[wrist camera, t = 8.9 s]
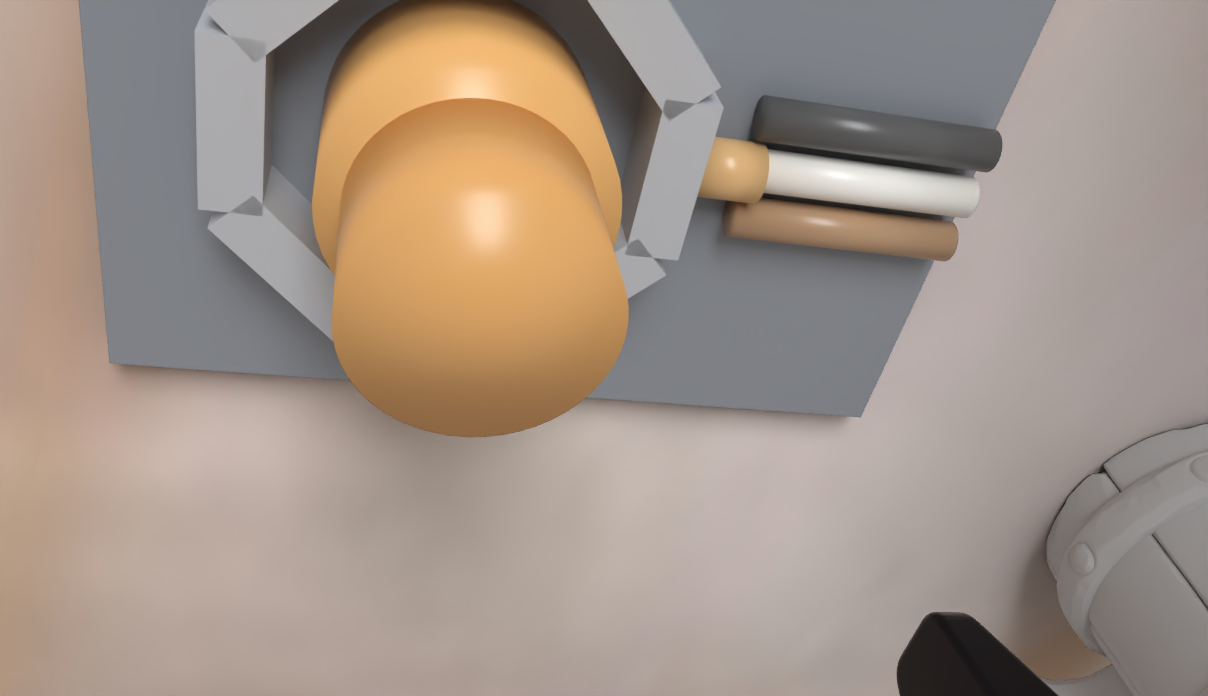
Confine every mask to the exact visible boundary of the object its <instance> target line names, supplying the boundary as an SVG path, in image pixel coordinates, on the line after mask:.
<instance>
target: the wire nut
mask: <svg viewBox="0 0 1208 696" xmlns="http://www.w3.org/2000/svg"><path fill="white" fill-rule="evenodd" d="M312 215H313V224H314V229H315V234H316V238H317V241H318V244H319V247H320V250H321V252H322V255H323V257H324V259H325V260H326V262H327V264H328V266H329V268H330V270H331V271H332V273H333V274H334V275H335V282H334V295H333V308H332V336H333V341H334V346H335V350H336V353H337V356H338V358H339V361H340V364H341V366H342V367H343V369H344V371H345V373H346V374H347V376H348V378H349V379H350V381H351V382H352V383H353V384H354V386H355V387H356V388H357V389H358V391H359V392H360V393H361V394H362V395H363V396H364V397H365V398H367V399H368V400H369V401H370V402H371V403H372V404H373V405H375V406H376V407H378V408H379V409H380V410H382V411H383V412H384V413H386V414H388V415H390V416H392V417H393V418H395V419H397V420H399V421H401V422H403V423H406V424H408V425H411V426H413V427H416V428H419V429H422V430H426V431H429V432H433V433H438V434H444V435H449V436H461V437H487V436H497V435H504V434H509V433H514V432H519V431H522V430H525V429H529V428H532V427H535V426H538V425H540V424H543V423H545V422H547V421H550V420H552V419H554V418H556V417H558V416H560V415H561V414H563V413H565V412H567V411H568V410H570V409H571V408H573V407H574V406H576V405H577V404H579V403H580V402H581V401H583V400H584V399H585V398H586V397H587V396H588V395H589V394H591V393H592V392H593V391H594V390H595V389H596V388H597V387H598V385H599V384H600V383H601V382H602V381H603V380H604V379H605V377H606V376H607V374H608V373H609V372H610V370H611V369H612V367H613V366H614V364H615V362H616V360H617V358H618V356H619V354H620V352H621V349H622V346H623V344H624V341H625V338H626V332H627V327H628V315H629V306H628V299H627V292H626V289H625V285H624V282H623V279H622V275H621V272H620V269H619V266H618V262H617V259H616V256H615V253H614V249H613V247H614V245H615V241H616V238H617V235H618V232H619V228H620V221H621V215H622V191H621V184H620V178H619V174H618V171H617V167H616V164H615V161H614V158H613V155H612V152H611V149H610V146H609V143H608V141H607V138H606V135H605V132H604V129H603V126H602V123H601V121H600V118H599V115H598V112H597V109H596V106H595V103H594V101H593V98H592V95H591V92H590V89H589V86H588V83H587V81H586V78H585V75H584V72H583V70H582V68H581V66H580V64H579V61H578V59H577V57H576V56H575V54H574V53H573V51H572V49H571V48H570V46H569V45H568V43H567V42H566V41H565V40H564V39H563V38H562V36H561V35H560V34H559V33H558V32H557V31H556V30H555V29H554V28H553V27H552V26H551V25H550V24H549V23H548V22H546V21H545V20H544V19H543V18H541V17H540V16H538V15H537V14H536V13H534V12H533V11H531V10H530V9H528V8H526V7H524V6H522V5H520V4H518V3H516V2H514V1H512V0H401V1H399V2H396V3H394V4H392V5H390V6H388V7H386V8H385V9H383V10H381V11H380V12H378V13H377V14H375V15H374V16H372V17H371V18H370V19H369V20H367V21H366V22H365V23H364V24H363V25H362V26H361V27H360V28H358V29H357V30H356V32H355V33H354V34H353V35H352V36H351V38H350V39H349V40H348V41H347V42H346V44H345V45H344V47H343V48H342V50H341V52H340V53H339V55H338V56H337V58H336V60H335V63H334V65H333V67H332V69H331V72H330V74H329V78H328V82H327V86H326V89H325V97H324V105H323V114H322V122H321V130H320V139H319V147H318V155H317V164H316V172H315V180H314V189H313V197H312Z"/></svg>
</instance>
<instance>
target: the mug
mask: <svg viewBox="0 0 1208 696" xmlns="http://www.w3.org/2000/svg"><path fill="white" fill-rule="evenodd" d="M1104 468H1105V470H1106V471H1107V472H1103V473H1099V474H1091V475H1090V476H1089V477H1087V478H1086V479H1085V480H1084V481H1083V482H1082V483H1081V484H1080V485H1079V486H1078V487H1077V488H1076V489H1075V490H1074V491H1073V492H1072V493H1071V494H1070V495H1069V497H1068V498H1067V500H1066V503H1065V505H1064V507H1063V508H1062V510H1061V511H1060V513H1059V514H1058V516H1057V518H1056V520H1055V522H1054V524H1053V526H1052V528H1051V531H1050V533H1049V535H1048V538H1047V543H1046V545H1047V549H1046V553H1047V558H1046V559H1047V563H1048V566H1049V568H1050V570H1051V572H1052V574H1053V576H1054V578H1055V579H1056V581H1057V596H1058V600H1059V604H1060V607H1061V610H1062V612H1063V614H1064V616H1065V618H1066V619H1067V621H1068V623H1069V624H1070V626H1071V627H1072V629H1073V630H1074V631H1075V633H1076V634H1077V635H1078V637H1079V638H1080V639H1081V640H1082V641H1083V643H1084V644H1085V645H1086V647H1087V648H1088V649H1090V650H1091V651H1096V652H1098V653H1099V654H1101V655H1104V656H1106V657H1108V659H1109V660H1110V662H1111V663H1112V664H1111V665H1109V666H1107V667H1105V668H1104V669H1102V670H1100V671H1098V672H1096V673H1094V674H1092V675H1089V676H1086V677H1083V678H1079V679H1072V680H1063V681H1055V680H1048V679H1044V678H1041V677H1039V678H1040V679H1041V680H1042V681H1043V682H1044V683H1046V684H1047V685H1048V686H1049V687H1050V688H1051V689H1052V690H1053V691H1054V692H1055V693H1056V694H1058V695H1059V696H1208V423H1207V424H1203V425H1199V426H1195V427H1192V428H1189V429H1183V430H1180V429H1177V430H1171V431H1167V432H1164V433H1162V434H1159V435H1156V436H1153V437H1150V438H1147V439H1145V440H1143V441H1141V442H1139V443H1137V444H1135V445H1133V446H1131V447H1129V448H1128V449H1126V450H1124V451H1122V452H1120V453H1119V454H1117V455H1115V456H1114V457H1112V458H1111V459H1110V460H1109V461H1107V462H1106V463H1105V464H1104Z"/></svg>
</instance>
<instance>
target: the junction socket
mask: <svg viewBox="0 0 1208 696" xmlns="http://www.w3.org/2000/svg"><path fill="white" fill-rule="evenodd" d="M399 1H401V0H79V9H80V21H81V33H82V45H83V57H84V69H85V80H86V92H87V104H88V116H89V128H90V139H91V151H92V163H93V175H94V187H95V199H96V210H97V222H98V234H99V246H100V258H101V270H102V281H103V293H104V305H105V317H106V329H107V341H108V352H109V363H112V364H126V365H140V366H154V367H168V368H182V369H196V370H209V371H223V372H237V373H251V374H265V375H279V376H293V377H307V378H321V379H335V380H349V381H350V379H349V378H348V376H347V374H346V373H345V371H344V369H343V367H342V366H341V364H340V361H339V358H338V356H337V353H336V350H335V346H334V341H333V336H332V308H333V295H334V282H335V275H334V274H333V273H332V271H331V270H330V268H329V266H328V264H327V262H326V260H325V259H324V257H323V255H322V252H321V250H320V247H319V244H318V241H317V238H316V234H315V229H314V224H313V215H312V197H313V189H314V180H315V172H316V164H317V155H318V147H319V139H320V130H321V122H322V114H323V105H324V97H325V89H326V86H327V82H328V78H329V74H330V72H331V69H332V67H333V65H334V63H335V60H336V58H337V56H338V55H339V53H340V52H341V50H342V48H343V47H344V45H345V44H346V42H347V41H348V40H349V39H350V38H351V36H352V35H353V34H354V33H355V32H356V30H357V29H358V28H360V27H361V26H362V25H363V24H364V23H365V22H366V21H367V20H369V19H370V18H371V17H372V16H374V15H375V14H377V13H378V12H380V11H381V10H383V9H385V8H386V7H388V6H390V5H392V4H394V3H396V2H399ZM512 1H514V2H516V3H518V4H520V5H522V6H524V7H526V8H528V9H530V10H531V11H533V12H534V13H536V14H537V15H538V16H540V17H541V18H543V19H544V20H545V21H546V22H548V23H549V24H550V25H551V26H552V27H553V28H554V29H555V30H556V31H557V32H558V33H559V34H560V35H561V36H562V38H563V39H564V40H565V41H566V42H567V43H568V45H569V46H570V48H571V49H572V51H573V53H574V54H575V56H576V57H577V59H578V61H579V64H580V66H581V68H582V70H583V72H584V75H585V78H586V81H587V83H588V86H589V89H590V92H591V95H592V98H593V101H594V103H595V106H596V109H597V112H598V115H599V118H600V121H601V123H602V126H603V129H604V132H605V135H606V138H607V141H608V143H609V146H610V149H611V152H612V155H613V158H614V161H615V164H616V167H617V171H618V174H619V178H620V184H621V191H622V215H621V221H620V228H619V232H618V235H617V238H616V241H615V245H614V247H613V249H614V253H615V256H616V259H617V262H618V266H619V269H620V272H621V275H622V279H623V282H624V285H625V289H626V292H627V299H628V306H629V315H628V327H627V332H626V338H625V341H624V344H623V346H622V349H621V352H620V354H619V356H618V358H617V360H616V362H615V364H614V366H613V367H612V369H611V370H610V372H609V373H608V374H607V376H606V377H605V379H604V380H603V381H602V382H601V383H600V384H599V385H598V387H597V388H596V389H595V390H594V391H593V392H592V393H591V394H589V395H588V396H587V397H586V398H599V399H613V400H627V401H641V402H655V403H669V404H683V405H697V406H711V407H725V408H739V409H753V410H767V411H781V412H794V413H808V414H822V415H836V416H850V417H861V416H862V413H863V411H864V409H865V407H866V405H867V403H868V401H869V398H870V396H871V394H872V392H873V390H874V388H875V386H876V384H877V381H878V379H879V377H880V375H881V373H882V371H883V369H884V366H885V364H886V362H887V360H888V358H889V356H890V354H891V352H892V349H893V347H894V345H895V343H896V341H897V339H898V337H899V334H900V332H901V330H902V328H903V326H904V324H905V322H906V319H907V317H908V315H909V313H910V311H911V309H912V307H913V305H914V302H915V300H916V298H917V296H918V294H919V292H920V290H921V287H922V285H923V283H924V281H925V279H926V277H927V275H928V272H929V270H930V268H931V266H932V264H933V262H934V260H937V261H947V260H949V259H950V258H951V257H952V256H953V254H954V253H955V250H956V248H957V244H958V230H957V227H956V225H955V224H954V223H953V222H952V221H953V219H954V217H959V218H967V217H969V216H970V215H971V214H972V213H973V212H974V210H975V209H976V207H977V204H978V201H979V194H980V190H979V184H978V182H977V180H976V179H975V178H974V177H973V176H974V174H975V172H976V171H979V172H989V171H991V170H992V169H993V168H994V167H995V166H996V164H997V163H998V161H999V159H1000V156H1001V152H1002V138H1001V135H1000V133H999V132H998V131H997V130H995V129H996V127H997V125H998V123H999V121H1000V119H1001V117H1002V114H1003V112H1004V110H1005V108H1006V106H1007V104H1008V102H1009V99H1010V97H1011V95H1012V93H1013V91H1014V89H1015V87H1016V85H1017V82H1018V80H1019V78H1020V76H1021V74H1022V72H1023V70H1024V67H1025V65H1026V63H1027V61H1028V59H1029V57H1030V55H1031V53H1032V50H1033V48H1034V46H1035V44H1036V42H1037V40H1038V38H1039V35H1040V33H1041V31H1042V29H1043V27H1044V25H1045V23H1046V20H1047V18H1048V16H1049V14H1050V12H1051V10H1052V8H1053V6H1054V3H1055V1H1056V0H512Z"/></svg>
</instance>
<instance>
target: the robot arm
mask: <svg viewBox="0 0 1208 696" xmlns="http://www.w3.org/2000/svg"><path fill="white" fill-rule="evenodd" d="M897 683H898V689H899V694H900V696H1059V695H1058V694H1056V693H1055V692H1054V691H1053V690H1052V689H1051V688H1050V687H1049V686H1048V685H1047V684H1046V683H1044V682H1043V681H1042V680H1041V679H1040V678H1039V677H1038V676H1037V675H1036V674H1035V673H1033V672H1032V671H1031V670H1030V669H1029V668H1028V667H1027V666H1026V665H1025V664H1024V663H1023V662H1021V661H1020V660H1019V659H1018V658H1017V657H1016V656H1015V655H1014V654H1013V653H1012V652H1010V651H1009V650H1008V649H1007V648H1006V647H1005V646H1004V645H1003V644H1002V643H1001V642H1000V641H998V640H997V639H996V638H995V637H994V636H993V635H992V634H991V633H990V632H989V631H988V630H986V629H985V628H984V627H983V626H982V625H981V624H980V623H979V622H978V621H977V620H975V619H974V618H973V617H971V616H969V615H967V614H965V613H959V612H933V613H930V614H928V615H927V616H926V617H925V618H924V619H923V620H922V622H921V624H920V625H919V627H918V629H917V630H916V632H915V634H914V635H913V637H912V639H911V640H910V642H909V644H908V645H907V647H906V649H905V650H904V652H903V654H902V655H901V657H900V659H899V662H898V666H897Z"/></svg>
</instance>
